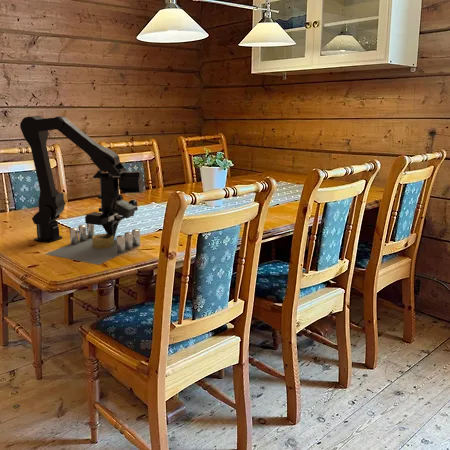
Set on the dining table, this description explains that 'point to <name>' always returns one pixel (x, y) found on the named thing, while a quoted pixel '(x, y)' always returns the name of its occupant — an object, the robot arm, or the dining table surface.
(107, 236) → the tan lobed block
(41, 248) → the dining table surface
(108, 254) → the mat
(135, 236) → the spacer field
